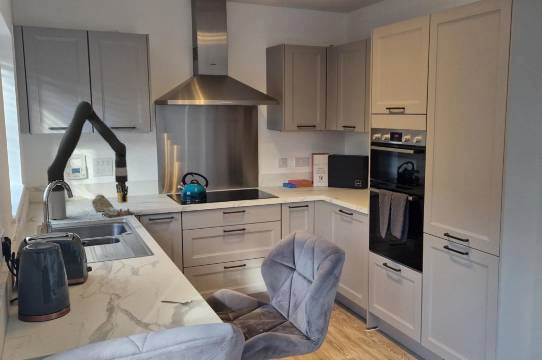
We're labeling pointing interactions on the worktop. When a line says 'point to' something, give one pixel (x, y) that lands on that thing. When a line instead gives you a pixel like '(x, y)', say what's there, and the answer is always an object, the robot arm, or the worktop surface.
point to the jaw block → (121, 198)
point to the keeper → (111, 211)
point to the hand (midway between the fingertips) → (122, 200)
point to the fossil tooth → (101, 203)
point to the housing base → (120, 213)
